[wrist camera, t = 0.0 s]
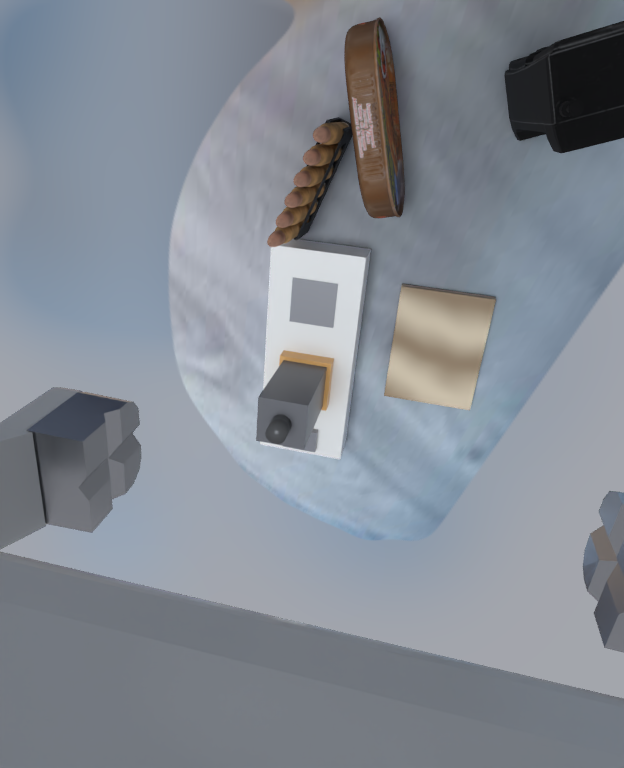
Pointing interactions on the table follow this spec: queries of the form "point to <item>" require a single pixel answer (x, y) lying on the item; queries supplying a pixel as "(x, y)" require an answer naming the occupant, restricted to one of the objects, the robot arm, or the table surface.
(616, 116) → the portable radio
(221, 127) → the table surface
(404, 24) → the table surface
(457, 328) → the oak board
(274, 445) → the power strip
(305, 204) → the ammunition clip
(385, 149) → the tin
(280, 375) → the plug
